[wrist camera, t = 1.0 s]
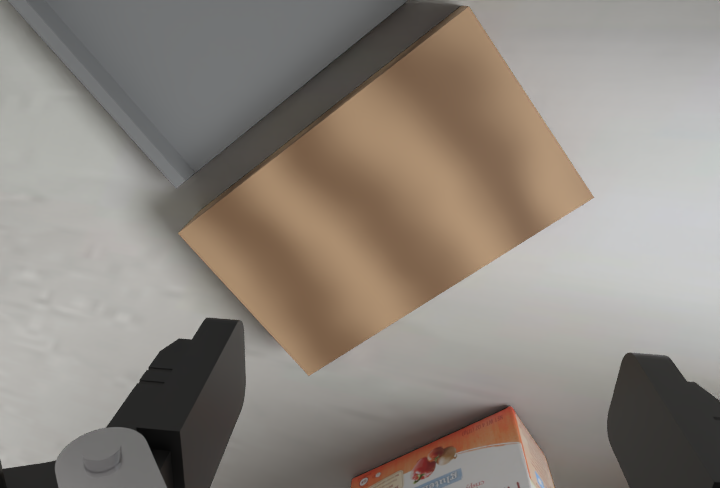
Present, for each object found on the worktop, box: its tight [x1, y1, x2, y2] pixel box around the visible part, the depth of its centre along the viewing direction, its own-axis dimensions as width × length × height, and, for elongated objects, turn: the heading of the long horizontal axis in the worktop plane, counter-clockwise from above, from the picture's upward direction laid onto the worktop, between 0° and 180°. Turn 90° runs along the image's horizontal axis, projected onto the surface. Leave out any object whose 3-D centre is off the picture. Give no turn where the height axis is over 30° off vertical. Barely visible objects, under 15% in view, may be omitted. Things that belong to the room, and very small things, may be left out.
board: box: [178, 6, 594, 376], centre depth 35 cm, size 20×12×4 cm, turn 128°
